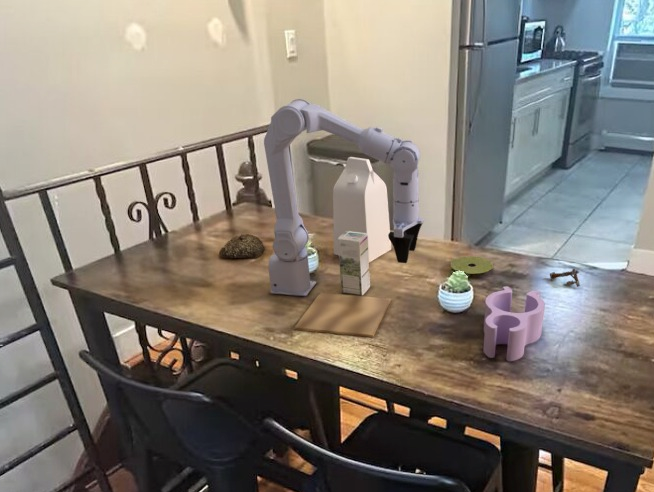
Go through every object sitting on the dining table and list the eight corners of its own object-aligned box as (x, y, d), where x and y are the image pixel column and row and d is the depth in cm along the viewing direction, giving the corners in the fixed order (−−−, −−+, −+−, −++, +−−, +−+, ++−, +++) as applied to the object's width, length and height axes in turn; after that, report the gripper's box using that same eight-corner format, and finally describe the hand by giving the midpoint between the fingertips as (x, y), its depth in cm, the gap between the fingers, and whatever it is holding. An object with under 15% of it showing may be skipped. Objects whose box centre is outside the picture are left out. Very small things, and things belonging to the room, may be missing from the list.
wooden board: (294, 329, 133) (294, 327, 133) (320, 294, 148) (320, 292, 148) (372, 337, 130) (372, 334, 129) (391, 300, 145) (391, 298, 144)
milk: (391, 249, 173) (389, 156, 159) (368, 262, 164) (364, 166, 151) (357, 241, 178) (352, 151, 164) (333, 254, 170) (326, 160, 156)
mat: (481, 283, 152) (482, 276, 151) (442, 274, 157) (442, 267, 156) (499, 268, 160) (500, 261, 159) (461, 259, 165) (462, 253, 164)
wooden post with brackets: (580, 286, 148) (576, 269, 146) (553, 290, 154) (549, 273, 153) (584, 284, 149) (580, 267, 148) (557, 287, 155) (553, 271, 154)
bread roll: (260, 260, 167) (257, 243, 164) (216, 260, 167) (213, 243, 165) (269, 243, 178) (267, 227, 175) (228, 243, 178) (225, 227, 176)
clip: (530, 365, 120) (534, 334, 116) (469, 354, 123) (471, 324, 120) (546, 320, 135) (549, 292, 132) (491, 311, 139) (494, 284, 135)
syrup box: (370, 287, 151) (368, 231, 144) (362, 296, 147) (359, 240, 139) (350, 284, 153) (346, 229, 145) (340, 293, 148) (336, 237, 140)
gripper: (415, 210, 128) (415, 269, 135) (430, 191, 140) (429, 246, 147) (384, 208, 129) (385, 266, 137) (401, 189, 141) (401, 244, 148)
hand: (406, 256), depth 142 cm, fingers open, 7 cm apart
